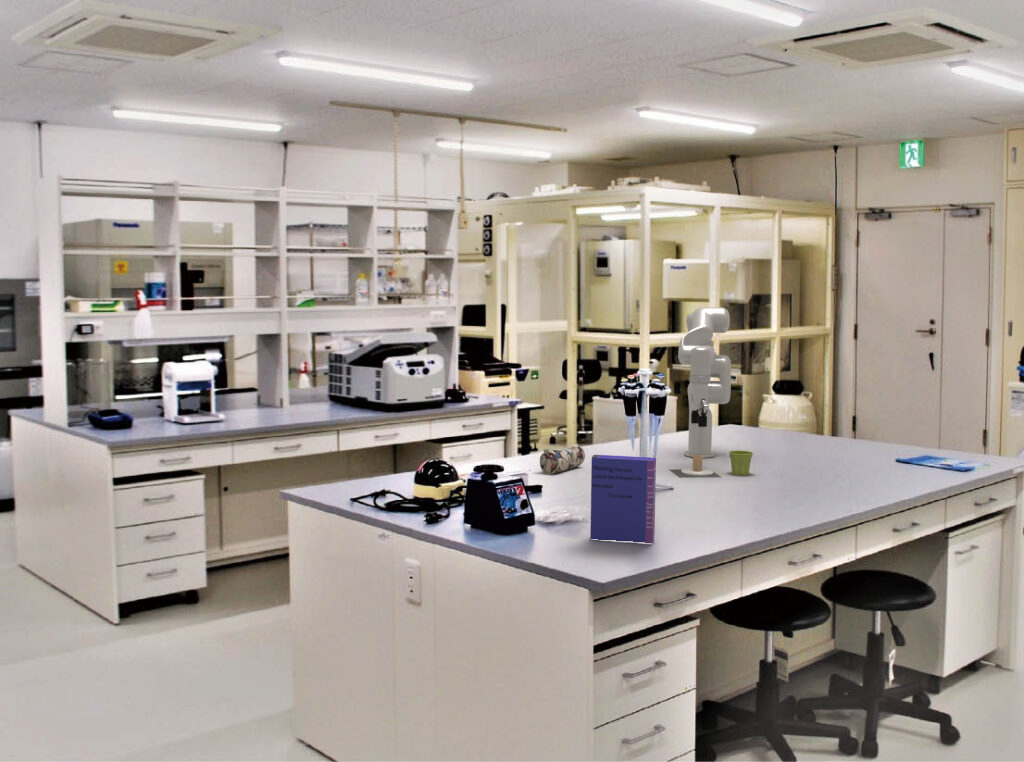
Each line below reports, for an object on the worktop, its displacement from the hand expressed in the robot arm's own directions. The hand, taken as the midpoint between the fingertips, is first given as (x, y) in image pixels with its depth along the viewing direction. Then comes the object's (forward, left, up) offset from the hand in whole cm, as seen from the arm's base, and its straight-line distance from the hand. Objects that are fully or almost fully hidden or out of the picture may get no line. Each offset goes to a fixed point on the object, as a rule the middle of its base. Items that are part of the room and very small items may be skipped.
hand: (698, 425), depth 387 cm
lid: (0, 0, -18) cm, 18 cm away
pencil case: (-11, -50, -19) cm, 55 cm away
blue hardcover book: (+96, -48, -19) cm, 109 cm away
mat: (0, -1, -19) cm, 19 cm away
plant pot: (+2, +16, -19) cm, 25 cm away
